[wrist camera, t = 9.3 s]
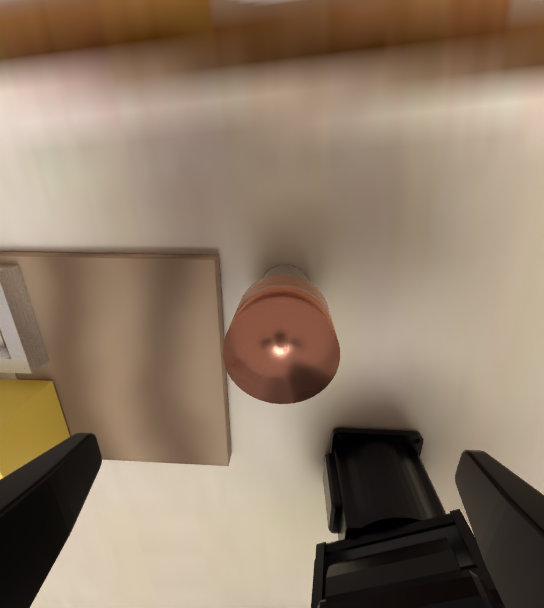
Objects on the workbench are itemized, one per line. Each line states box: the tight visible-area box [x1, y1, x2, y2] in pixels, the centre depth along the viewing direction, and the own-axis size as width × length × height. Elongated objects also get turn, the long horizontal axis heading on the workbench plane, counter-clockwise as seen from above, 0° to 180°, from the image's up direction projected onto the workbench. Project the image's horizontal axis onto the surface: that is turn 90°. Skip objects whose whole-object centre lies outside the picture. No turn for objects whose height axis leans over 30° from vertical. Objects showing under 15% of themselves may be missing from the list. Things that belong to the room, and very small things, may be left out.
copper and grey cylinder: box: [223, 264, 340, 404], centre depth 15 cm, size 4×4×8 cm
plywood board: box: [0, 252, 231, 466], centre depth 21 cm, size 20×16×1 cm
